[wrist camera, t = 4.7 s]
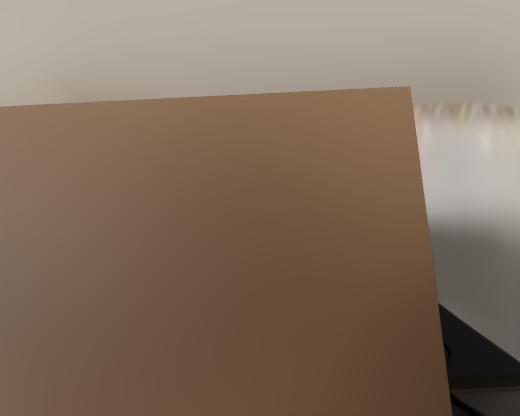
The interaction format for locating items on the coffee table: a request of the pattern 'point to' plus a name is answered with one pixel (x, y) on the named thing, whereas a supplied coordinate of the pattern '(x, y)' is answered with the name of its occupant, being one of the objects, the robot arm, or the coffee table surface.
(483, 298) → the coffee table surface
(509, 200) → the coffee table surface
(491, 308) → the coffee table surface
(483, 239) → the coffee table surface
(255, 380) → the walnut block
